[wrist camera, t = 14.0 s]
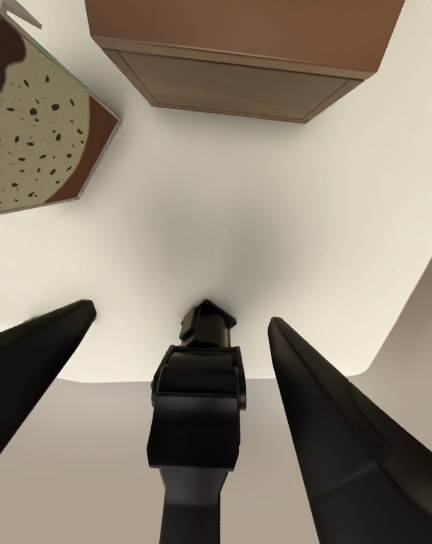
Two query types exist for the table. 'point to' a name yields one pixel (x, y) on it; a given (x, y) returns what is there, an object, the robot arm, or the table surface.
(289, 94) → the tea box
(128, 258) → the table surface
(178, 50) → the tea box lid
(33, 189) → the food container
